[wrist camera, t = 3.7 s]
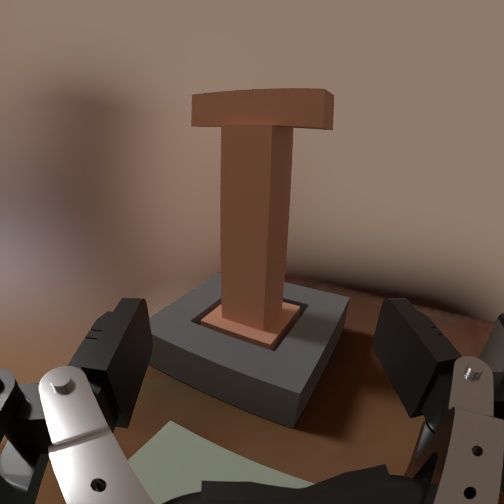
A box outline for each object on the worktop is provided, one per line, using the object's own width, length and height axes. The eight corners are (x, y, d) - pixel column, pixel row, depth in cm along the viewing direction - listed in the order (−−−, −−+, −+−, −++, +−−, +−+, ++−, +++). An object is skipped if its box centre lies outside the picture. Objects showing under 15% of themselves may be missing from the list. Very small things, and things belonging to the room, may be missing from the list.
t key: (314, 345, 22) (339, 99, 16) (289, 387, 18) (315, 82, 12) (223, 316, 26) (223, 99, 20) (186, 348, 22) (175, 92, 15)
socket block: (343, 329, 24) (349, 297, 23) (293, 428, 15) (299, 393, 14) (227, 297, 29) (226, 267, 28) (143, 361, 20) (136, 326, 19)
